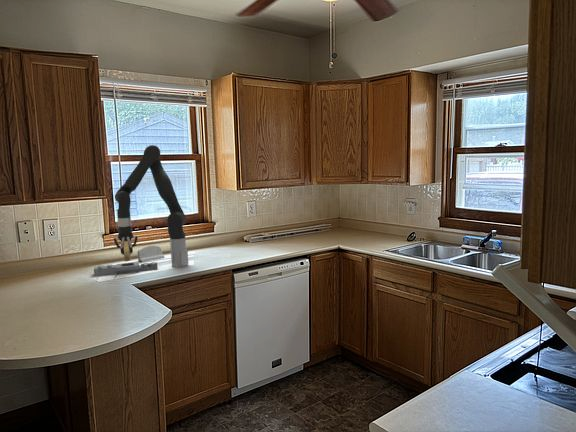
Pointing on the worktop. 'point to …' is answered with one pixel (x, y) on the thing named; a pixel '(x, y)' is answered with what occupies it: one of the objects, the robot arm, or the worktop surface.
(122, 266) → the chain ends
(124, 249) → the brass pin
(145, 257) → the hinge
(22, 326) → the worktop surface
